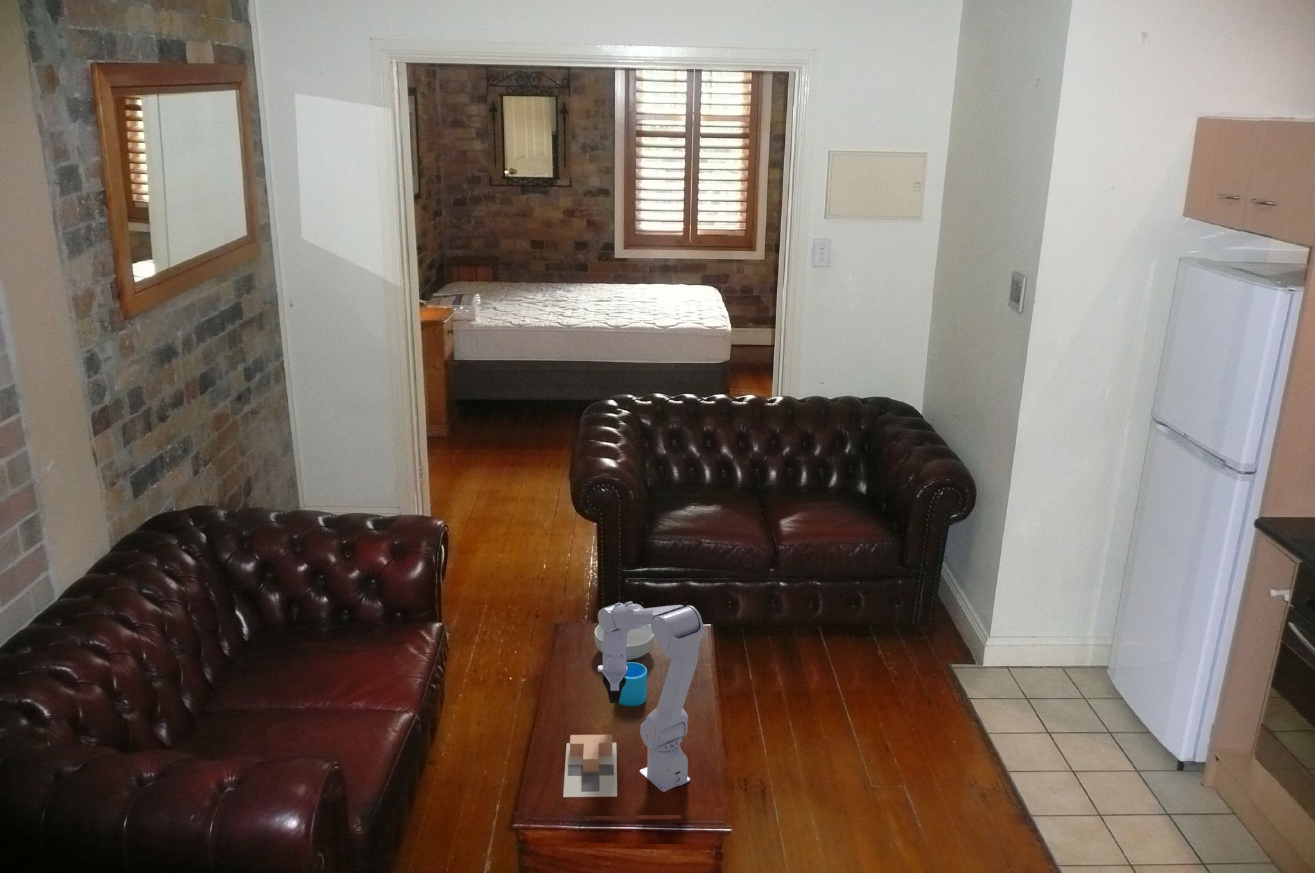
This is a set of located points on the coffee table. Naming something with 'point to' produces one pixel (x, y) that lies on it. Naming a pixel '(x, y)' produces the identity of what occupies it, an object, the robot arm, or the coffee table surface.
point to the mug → (634, 685)
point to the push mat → (590, 776)
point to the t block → (590, 749)
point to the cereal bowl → (631, 641)
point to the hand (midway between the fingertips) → (614, 700)
